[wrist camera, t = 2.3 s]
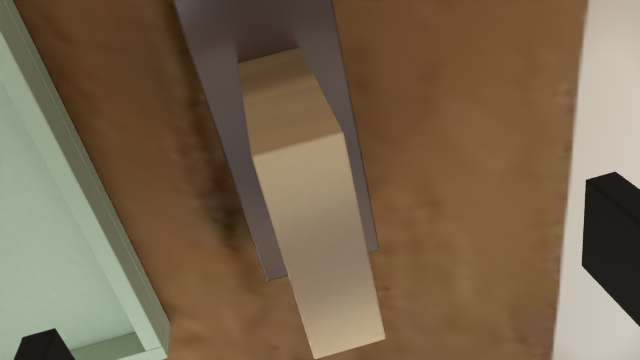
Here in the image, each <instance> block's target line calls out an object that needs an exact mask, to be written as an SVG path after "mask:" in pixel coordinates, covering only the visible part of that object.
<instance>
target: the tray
mask: <svg viewBox="0 0 640 360" xmlns="http://www.w3.org/2000/svg"><path fill="white" fill-rule="evenodd" d="M53 328H56V330H57V331H58V333H59V335H60V336H61V338H62V339H63V341H64V342H65V344H66V346H67V347H68V349H69V350H70V352H71V354H72V355H73V357H74V358H75V360H162V359H165V358H168V348H169V333H170V322H169V320H168V318H167V316H166V314H165V312H164V310H163V308H162V306H161V304H160V302H159V300H158V298H157V296H156V293H155V291H154V289H153V287H152V285H151V283H150V281H149V279H148V277H147V275H146V273H145V271H144V269H143V267H142V265H141V263H140V261H139V259H138V256H137V254H136V252H135V250H134V248H133V246H132V244H131V242H130V240H129V238H128V236H127V234H126V232H125V230H124V228H123V226H122V224H121V222H120V220H119V217H118V215H117V213H116V211H115V209H114V207H113V205H112V203H111V201H110V199H109V197H108V195H107V193H106V191H105V189H104V187H103V185H102V183H101V181H100V178H99V176H98V174H97V172H96V170H95V168H94V166H93V164H92V162H91V160H90V158H89V156H88V154H87V152H86V150H85V148H84V146H83V144H82V142H81V139H80V137H79V135H78V133H77V131H76V129H75V127H74V125H73V123H72V121H71V119H70V117H69V115H68V113H67V111H66V109H65V107H64V105H63V103H62V100H61V98H60V96H59V94H58V92H57V90H56V88H55V86H54V84H53V82H52V80H51V78H50V76H49V74H48V72H47V70H46V68H45V66H44V64H43V61H42V59H41V57H40V55H39V53H38V51H37V49H36V47H35V45H34V43H33V41H32V39H31V37H30V35H29V33H28V31H27V29H26V27H25V25H24V22H23V20H22V18H21V16H20V14H19V12H18V10H17V8H16V6H15V4H14V2H13V0H0V360H14V357H15V355H16V352H17V350H18V347H19V345H20V342H21V340H22V337H25V336H28V335H32V334H35V333H39V332H43V331H46V330H50V329H53Z"/></svg>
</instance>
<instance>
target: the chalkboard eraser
mask: <svg viewBox="0 0 640 360" xmlns="http://www.w3.org/2000/svg"><path fill="white" fill-rule="evenodd" d="M172 3H173V6H174V9H175V11H176V14H177V17H178V20H179V23H180V26H181V29H182V32H183V35H184V38H185V41H186V44H187V47H188V50H189V53H190V56H191V59H192V62H193V65H194V68H195V70H196V73H197V76H198V79H199V82H200V85H201V88H202V91H203V94H204V97H205V100H206V103H207V106H208V109H209V112H210V115H211V118H212V121H213V124H214V126H215V129H216V132H217V135H218V138H219V141H220V144H221V147H222V150H223V153H224V156H225V159H226V162H227V165H228V168H229V171H230V174H231V177H232V180H233V183H234V185H235V188H236V191H237V194H238V197H239V200H240V203H241V206H242V209H243V212H244V215H245V218H246V221H247V224H248V227H249V230H250V233H251V236H252V239H253V242H254V244H255V247H256V250H257V253H258V256H259V259H260V262H261V265H262V268H263V271H264V274H265V277H266V280H267V281H271V280H274V279H278V278H281V277H285V276H288V277H289V280H290V283H291V286H292V290H293V293H294V296H295V299H296V303H297V306H298V309H299V312H300V315H301V319H302V322H303V325H304V328H305V332H306V335H307V338H308V341H309V345H310V348H311V351H312V354H313V357H314V358H315V359H318V358H321V357H325V356H328V355H332V354H335V353H339V352H342V351H346V350H349V349H353V348H356V347H359V346H363V345H366V344H370V343H373V342H377V341H380V340H384V339H385V333H384V328H383V323H382V318H381V314H380V309H379V304H378V299H377V294H376V289H375V284H374V279H373V274H372V270H371V265H370V260H369V255H368V253H370V252H374V251H378V250H379V244H378V239H377V233H376V228H375V223H374V218H373V212H372V207H371V202H370V196H369V191H368V186H367V181H366V175H365V170H364V165H363V160H362V154H361V149H360V144H359V138H358V133H357V128H356V123H355V117H354V112H353V107H352V101H351V96H350V91H349V86H348V80H347V75H346V70H345V65H344V59H343V54H342V49H341V43H340V38H339V33H338V28H337V22H336V17H335V12H334V6H333V1H332V0H172Z"/></svg>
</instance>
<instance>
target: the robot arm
mask: <svg viewBox="0 0 640 360" xmlns="http://www.w3.org/2000/svg"><path fill="white" fill-rule="evenodd" d="M582 266H583V267H584V269H586V270H587V272H588V273H589V274H590V275H591V276H592V277H593V278H594V279H595V280H596V281H597V282H598V283H599V284H600V285H601V286H602V287H603V288H604V290H605V291H606V292H607V293H608V294H609V295H610V296H611V297H612V298H613V299H614V300H615V301H616V302H617V303H618V304H619V305H620V306H621V307H622V309H623V310H624V311H625V312H626V313H627V314H628V315H629V316H630V317H631V318H632V319H633V320H634V321H635V322H636V323H637V324H638V325H639V326H640V189H638V188H637V187H636V186H634V185H633V184H632V183H630V182H629V181H627V180H626V179H625V178H623V177H622V176H621V175H619V174H618V173H617V172H612V173H609V174H605V175H602V176H598V177H595V178H591V179H588V180H586V190H585V210H584V230H583V251H582ZM14 360H75V358H74V357H73V355H72V354H71V352H70V350H69V349H68V347H67V346H66V344H65V342H64V341H63V339H62V338H61V336H60V335H59V333H58V331H57V330H56V328H53V329H50V330H46V331H43V332H39V333H35V334H32V335H28V336H25V337H22V340H21V342H20V345H19V347H18V350H17V352H16V355H15V357H14Z"/></svg>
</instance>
